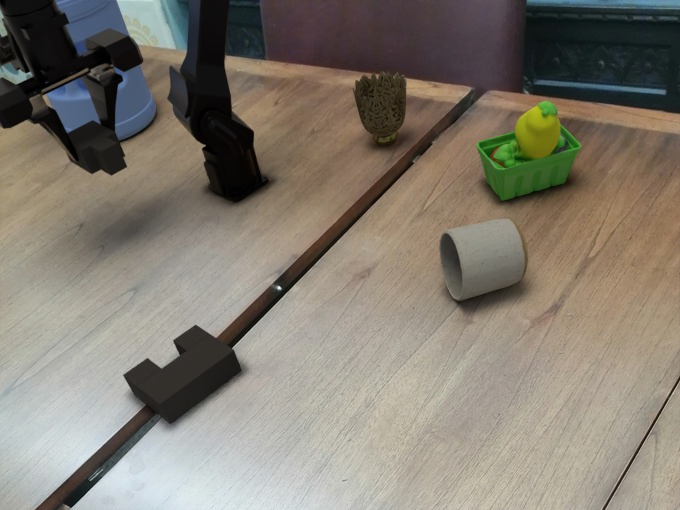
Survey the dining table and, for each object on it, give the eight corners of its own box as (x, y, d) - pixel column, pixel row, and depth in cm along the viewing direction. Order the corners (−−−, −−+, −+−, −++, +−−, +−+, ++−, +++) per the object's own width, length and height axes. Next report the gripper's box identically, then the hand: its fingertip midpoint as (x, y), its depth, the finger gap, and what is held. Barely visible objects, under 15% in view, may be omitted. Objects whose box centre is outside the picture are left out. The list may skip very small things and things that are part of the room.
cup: (405, 155, 98) (400, 95, 92) (355, 155, 100) (347, 96, 93) (415, 128, 102) (410, 69, 96) (366, 128, 104) (359, 70, 97)
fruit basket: (552, 157, 94) (560, 66, 84) (583, 189, 89) (595, 96, 79) (474, 180, 93) (473, 91, 83) (501, 214, 88) (503, 123, 78)
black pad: (103, 143, 89) (92, 119, 87) (136, 162, 85) (126, 137, 83) (70, 161, 87) (58, 137, 85) (102, 180, 84) (91, 156, 81)
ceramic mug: (530, 293, 78) (534, 231, 72) (463, 315, 77) (461, 254, 71) (492, 244, 84) (492, 184, 78) (429, 264, 84) (425, 204, 77)
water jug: (86, 102, 120) (-6, -108, 97) (170, 97, 117) (96, -120, 94) (49, 149, 111) (-61, -68, 89) (139, 146, 109) (49, -80, 86)
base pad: (204, 344, 80) (195, 323, 77) (242, 370, 76) (234, 349, 74) (133, 394, 76) (122, 374, 74) (170, 424, 73) (159, 404, 70)
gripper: (66, -39, 80) (122, 102, 93) (-84, 22, 74) (-1, 165, 87) (116, -22, 75) (168, 125, 88) (-41, 45, 69) (40, 193, 82)
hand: (94, 150), depth 86 cm, fingers closed on black pad, 5 cm apart
